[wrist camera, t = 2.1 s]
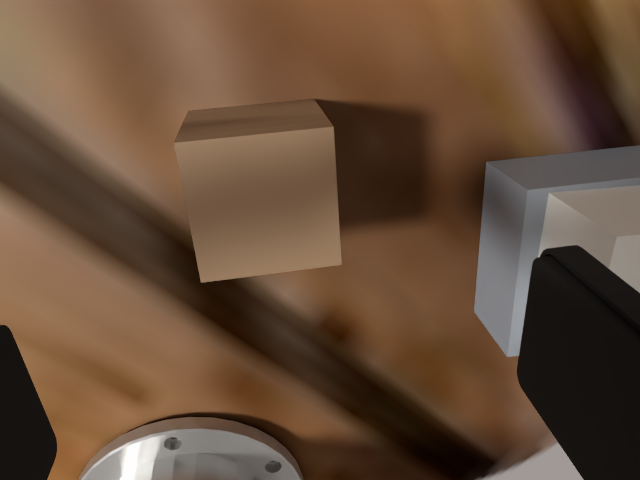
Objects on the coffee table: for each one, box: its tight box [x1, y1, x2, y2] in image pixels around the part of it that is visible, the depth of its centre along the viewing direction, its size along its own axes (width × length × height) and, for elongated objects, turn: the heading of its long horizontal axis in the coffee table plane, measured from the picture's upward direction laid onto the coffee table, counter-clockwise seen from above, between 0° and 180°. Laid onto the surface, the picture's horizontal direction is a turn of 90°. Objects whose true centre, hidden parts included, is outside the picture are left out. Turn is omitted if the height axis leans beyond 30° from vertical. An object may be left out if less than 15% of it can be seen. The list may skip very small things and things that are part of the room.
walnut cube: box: [174, 99, 342, 283], centre depth 19 cm, size 5×5×5 cm
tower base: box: [474, 145, 640, 357], centre depth 24 cm, size 8×8×4 cm
